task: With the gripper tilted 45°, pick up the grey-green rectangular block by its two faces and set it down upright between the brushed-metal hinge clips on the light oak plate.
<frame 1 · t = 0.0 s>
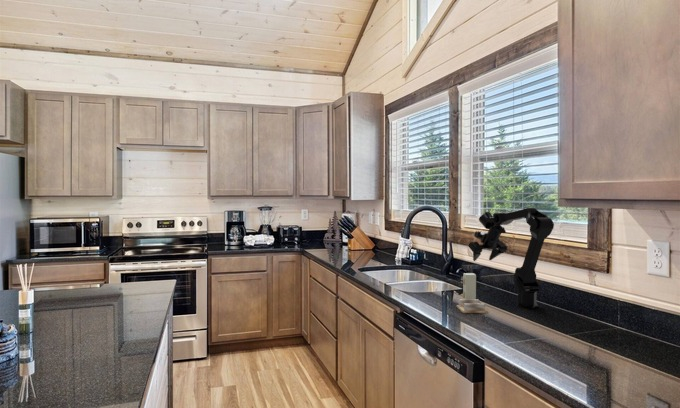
hand: (481, 260, 214), 15 cm above the worktop, tool tilted 35°, fingers open, 9 cm apart
grey-green rectangular block: (469, 302, 190), on the worktop
hinge clip plate: (471, 309, 178), on the worktop
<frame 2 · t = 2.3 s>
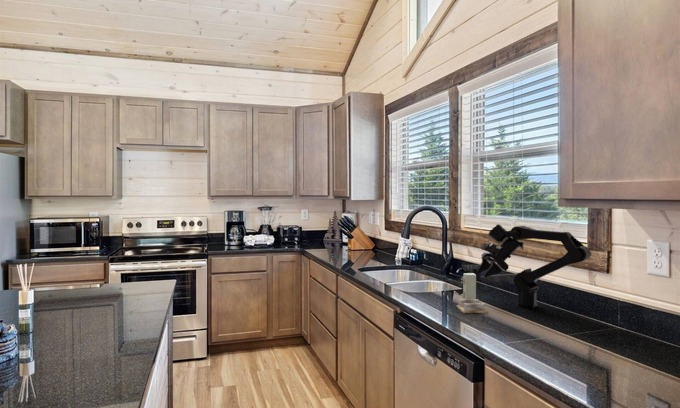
hand: (480, 274, 190), 12 cm above the worktop, tool tilted 45°, fingers open, 9 cm apart
nothing on the worktop moved.
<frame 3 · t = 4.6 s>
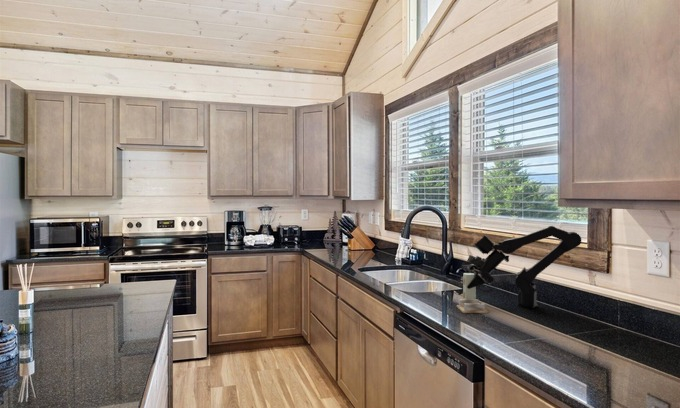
hand: (466, 287, 190), 7 cm above the worktop, tool tilted 45°, fingers closed on grey-green rectangular block, 4 cm apart
grey-green rectangular block: (469, 302, 190), on the worktop, touching gripper
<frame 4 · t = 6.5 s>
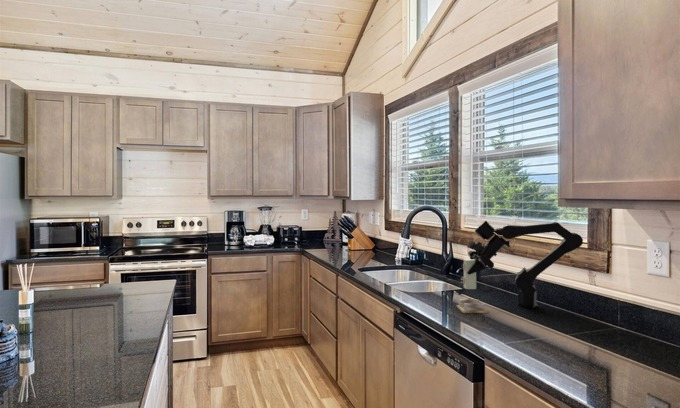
hand: (466, 272, 189), 13 cm above the worktop, tool tilted 45°, fingers closed on grey-green rectangular block, 4 cm apart
grey-green rectangular block: (469, 288, 189), point 6 cm above the worktop, touching gripper
when the fingers open (9 cm above the worktop, at t = 8.7 s): grey-green rectangular block drops 2 cm, resting on hinge clip plate.
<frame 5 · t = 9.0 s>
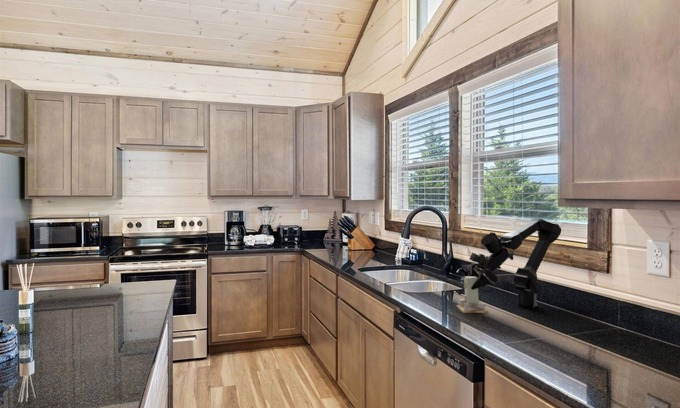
hand: (468, 286, 177), 9 cm above the worktop, tool tilted 45°, fingers open, 7 cm apart
grey-green rectangular block: (471, 307, 177), point 1 cm above the worktop, touching hinge clip plate
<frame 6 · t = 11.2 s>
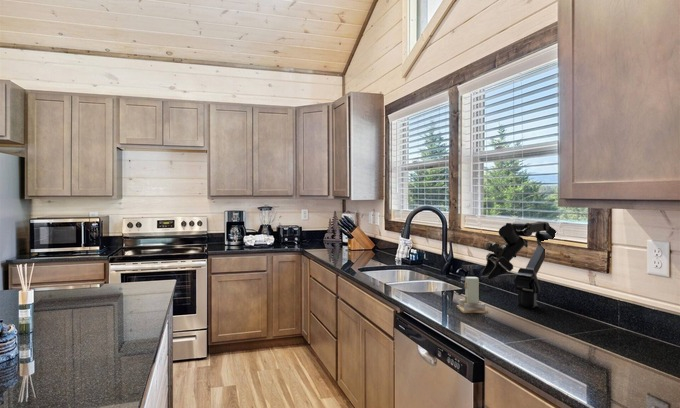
hand: (485, 276, 178), 13 cm above the worktop, tool tilted 40°, fingers open, 9 cm apart
nothing on the worktop moved.
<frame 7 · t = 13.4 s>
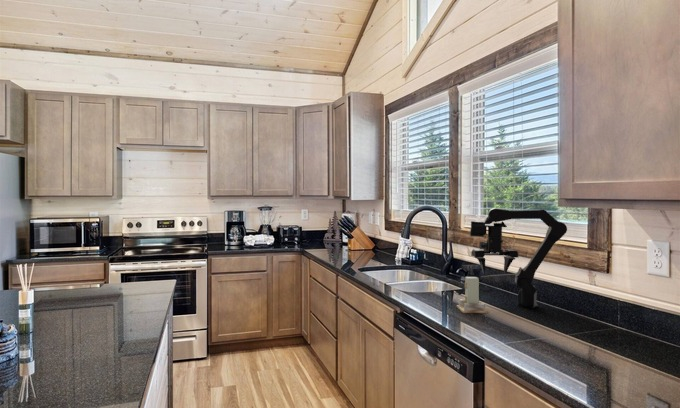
hand: (494, 273, 188), 13 cm above the worktop, tool pointing down, fingers open, 9 cm apart
nothing on the worktop moved.
at the end: grey-green rectangular block 0.1 cm off-centre on the hinge clip plate, point 0.8 cm above the hinge clip plate's base; grey-green rectangular block tilted 0°; the gripper is holding nothing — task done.
